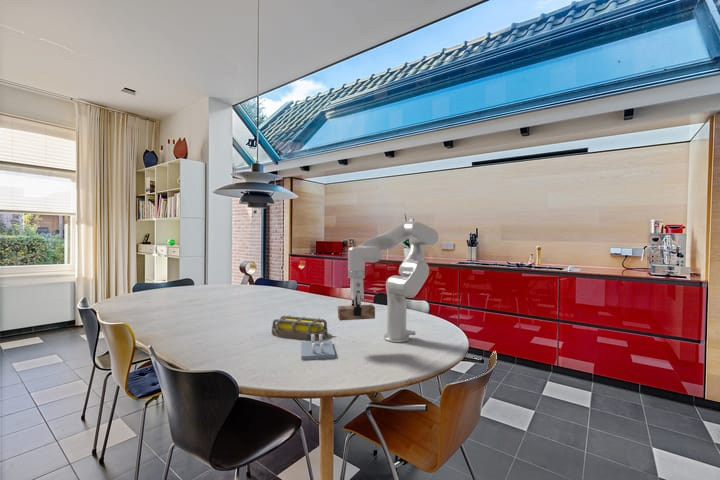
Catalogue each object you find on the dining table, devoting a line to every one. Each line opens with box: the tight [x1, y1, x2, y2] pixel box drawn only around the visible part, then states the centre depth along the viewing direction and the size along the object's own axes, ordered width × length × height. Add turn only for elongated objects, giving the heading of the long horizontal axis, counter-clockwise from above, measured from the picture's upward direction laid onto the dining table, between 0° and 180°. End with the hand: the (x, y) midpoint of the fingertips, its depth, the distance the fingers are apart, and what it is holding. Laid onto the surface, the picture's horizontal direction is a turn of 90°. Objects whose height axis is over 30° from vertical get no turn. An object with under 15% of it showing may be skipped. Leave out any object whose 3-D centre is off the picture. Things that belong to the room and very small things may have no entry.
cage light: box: [271, 314, 328, 341], centre depth 170 cm, size 15×8×30 cm
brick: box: [337, 304, 376, 322], centre depth 148 cm, size 16×6×5 cm, turn 100°
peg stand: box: [300, 334, 336, 361], centre depth 145 cm, size 14×18×6 cm
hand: (356, 313), depth 148 cm, fingers closed on brick, 6 cm apart
